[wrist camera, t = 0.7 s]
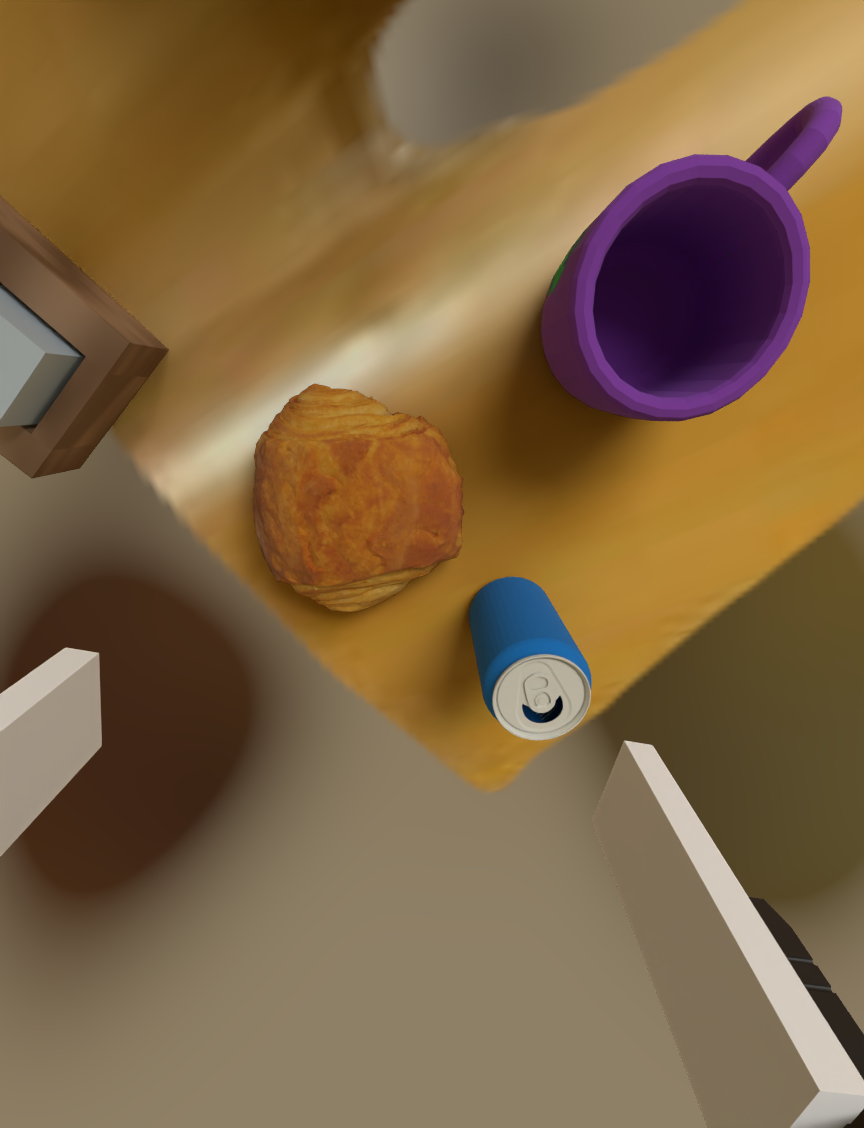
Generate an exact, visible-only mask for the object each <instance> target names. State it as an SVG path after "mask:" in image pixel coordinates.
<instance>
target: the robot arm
mask: <svg viewBox="0 0 864 1128" xmlns="http://www.w3.org/2000/svg"><path fill="white" fill-rule="evenodd" d="M101 738H102V736H101V703H100V671H99V653H95V652H89V651H84V650H77V649H72V648H64V649H63V650H61V651H60V652H59V653H57V654H56V655H54V656H53V657H52V658H50V659H49V660H47V661H46V662H45V663H43V664H42V665H40V666H39V667H37V668H36V669H35V670H33V671H32V672H30V673H29V674H28V675H26V676H25V677H23V678H22V679H21V680H19V681H18V682H16V683H15V684H14V685H12V686H11V687H10V688H8V689H7V690H5V691H4V692H2V693H1V694H0V856H1V855H2V854H3V853H4V852H5V851H6V850H7V849H8V848H9V846H11V844H12V843H13V842H14V841H15V840H16V839H17V838H18V837H19V836H20V834H21V833H22V832H23V831H24V830H25V829H26V828H27V827H28V826H29V825H30V824H31V823H32V822H33V820H34V819H35V818H36V817H37V816H38V815H39V814H40V813H41V812H42V811H43V810H44V808H45V807H46V806H47V805H48V804H49V803H50V802H51V801H52V800H53V799H54V798H55V796H56V795H57V794H58V793H59V792H60V791H61V790H62V789H63V788H64V787H65V786H66V784H67V783H68V782H69V781H70V780H71V779H72V778H73V777H74V776H75V775H76V773H77V772H78V771H79V770H80V769H81V768H82V767H83V766H84V765H85V764H86V763H87V761H88V760H89V759H90V758H91V757H92V756H93V755H94V754H95V752H97V751H98V750H99V748H100V747H101V746H102V739H101ZM592 824H593V826H594V829H595V832H596V834H597V837H598V840H599V842H600V844H601V847H602V850H603V853H604V855H605V858H606V861H607V863H608V866H609V868H610V871H611V874H612V876H613V879H614V882H615V884H616V887H617V890H618V892H619V895H620V897H621V900H622V903H623V906H624V908H625V911H626V913H627V916H628V919H629V921H630V924H631V927H632V929H633V932H634V934H635V937H636V940H637V943H638V945H639V948H640V950H641V953H642V956H643V958H644V961H645V964H646V966H647V969H648V972H649V974H650V977H651V980H652V982H653V985H654V988H655V990H656V993H657V995H658V998H659V1001H660V1003H661V1006H662V1008H663V1011H664V1014H665V1017H666V1019H667V1022H668V1024H669V1027H670V1030H671V1032H672V1035H673V1038H674V1040H675V1043H676V1046H677V1048H678V1051H679V1054H680V1056H681V1059H682V1061H683V1064H684V1067H685V1069H686V1072H687V1075H688V1077H689V1080H690V1083H691V1085H692V1088H693V1090H694V1093H695V1096H696V1098H697V1101H698V1104H699V1106H700V1109H701V1111H702V1114H703V1117H704V1120H705V1122H706V1125H707V1127H708V1128H864V1035H863V1033H862V1031H861V1030H860V1028H859V1027H858V1025H857V1024H856V1023H855V1021H854V1020H853V1018H852V1017H851V1015H850V1014H849V1012H848V1011H847V1009H846V1008H845V1006H844V1005H843V1003H842V1002H841V1000H840V999H839V997H838V996H837V994H836V993H833V992H832V991H831V986H830V984H829V983H828V981H827V980H826V978H825V977H824V975H823V974H822V972H821V971H820V969H819V968H818V966H816V965H814V964H813V961H812V960H813V959H812V957H811V956H810V954H809V953H808V951H807V950H806V949H805V947H804V946H803V944H802V943H801V941H800V940H799V938H798V937H797V935H796V934H795V932H794V931H793V929H792V928H791V927H790V926H789V925H788V924H787V923H786V922H785V920H783V918H782V917H781V916H780V915H779V914H778V913H777V912H776V911H775V910H774V909H773V908H772V907H771V906H770V905H769V904H768V903H767V902H766V901H765V900H764V899H758V898H752V897H748V896H747V894H746V893H745V891H744V890H743V888H742V886H741V885H740V883H739V882H738V880H737V879H736V877H735V875H734V874H733V872H732V871H731V869H730V867H729V866H728V864H727V863H726V861H725V860H724V858H723V856H722V855H721V853H720V852H719V850H718V849H717V847H716V845H715V844H714V842H713V841H712V839H711V837H710V836H709V834H708V833H707V831H706V830H705V828H704V826H703V825H702V823H701V822H700V820H699V818H698V817H697V815H696V814H695V812H694V810H693V809H692V807H691V806H690V804H689V803H688V801H687V799H686V798H685V796H684V795H683V793H682V791H681V790H680V788H679V787H678V785H677V783H676V782H675V780H674V779H673V777H672V776H671V774H670V772H669V771H668V769H667V768H666V766H665V764H664V763H663V762H662V760H661V758H660V756H659V755H658V753H657V752H656V750H655V749H654V747H653V745H648V744H642V743H635V742H630V741H624V743H623V745H622V747H621V750H620V752H619V755H618V757H617V760H616V762H615V764H614V767H613V769H612V772H611V774H610V777H609V779H608V782H607V784H606V786H605V789H604V792H603V794H602V796H601V799H600V801H599V803H598V806H597V809H596V811H595V813H594V816H593V818H592Z"/></svg>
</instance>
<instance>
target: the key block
mask: <svg viewBox="0 0 864 1128" xmlns="http://www.w3.org/2000/svg"><path fill="white" fill-rule="evenodd" d="M0 285H2V286H5V287H6V288H8V289H9V290H10V291H11V292H12V293H13V294H14V295H16V296H17V297H18V298H19V299H20V300H21V301H23V302H24V303H25V304H26V305H27V306H28V307H29V308H31V309H32V310H33V311H34V312H35V313H36V314H38V315H39V316H40V317H41V318H42V319H43V320H44V321H46V322H47V323H48V324H49V325H50V326H51V327H53V328H54V329H55V330H56V331H57V332H58V333H59V334H61V335H62V336H63V337H64V338H65V339H66V340H68V341H69V342H70V343H71V344H72V345H73V346H74V347H76V348H77V349H78V350H79V351H80V352H81V353H83V354H84V355H85V356H86V357H85V358H84V360H83V361H82V363H81V364H80V365H79V367H78V368H77V370H76V371H75V373H74V374H73V375H72V377H71V378H70V380H69V381H68V383H67V384H66V385H65V387H64V388H63V390H62V391H61V393H60V394H59V395H58V397H57V398H56V400H55V401H54V403H53V404H52V405H51V407H50V408H49V410H48V411H47V413H46V414H45V415H44V417H43V418H42V420H41V421H40V422H39V424H32V425H19V426H5V427H0V454H1V455H2V456H4V457H5V458H6V459H7V460H9V461H10V462H11V463H12V464H14V465H15V466H16V467H18V468H19V469H20V470H22V471H23V472H24V473H25V474H27V475H28V476H29V477H30V478H36V477H40V476H45V475H50V474H55V473H60V472H65V471H69V470H74V469H79V468H80V467H81V466H82V465H83V463H84V462H85V461H86V459H87V458H88V457H89V455H90V454H91V453H92V451H93V450H94V449H95V447H96V446H97V445H98V443H99V442H100V441H101V439H102V438H103V437H104V435H105V434H106V433H107V431H108V430H109V429H110V427H111V426H112V425H113V423H114V422H115V421H116V419H117V418H118V417H119V415H120V414H121V413H122V411H123V410H124V409H125V407H126V406H127V405H128V403H129V402H130V401H131V399H132V398H133V397H134V395H135V394H136V393H137V391H138V390H139V389H140V387H141V386H142V385H143V383H144V382H145V381H146V379H147V378H148V377H149V375H150V374H151V373H152V371H153V370H154V369H155V367H156V366H157V365H158V363H159V362H160V361H161V359H162V358H163V357H164V355H165V354H166V353H167V351H168V349H167V348H166V347H165V346H164V345H163V344H162V343H161V342H160V341H158V340H157V339H156V338H155V337H154V336H153V335H152V334H151V333H150V332H149V331H148V330H146V329H145V328H144V327H143V326H142V325H141V324H140V323H139V322H138V321H137V320H135V319H134V318H133V317H132V316H131V315H130V314H129V313H128V312H127V311H126V310H125V309H123V308H122V307H121V306H120V305H119V304H118V303H117V302H116V301H115V300H114V299H112V298H111V297H110V296H109V295H108V294H107V293H106V292H105V291H104V290H103V289H101V288H100V287H99V286H98V285H97V284H96V283H95V282H94V281H93V280H92V279H91V278H89V277H88V276H87V275H86V274H85V273H84V272H83V271H82V270H81V269H80V268H78V267H77V266H76V265H75V264H74V263H73V262H72V261H71V260H70V259H69V258H68V257H66V256H65V255H64V254H63V253H62V252H61V251H60V250H59V249H58V248H57V247H55V246H54V245H53V244H52V243H51V242H50V241H49V240H48V239H47V238H46V237H44V236H43V235H42V234H41V233H40V232H39V231H38V230H37V229H36V228H35V227H34V226H32V225H31V224H30V223H29V222H28V221H27V220H26V219H25V218H24V217H23V216H21V215H20V214H19V213H18V212H17V211H16V210H15V209H14V208H13V207H12V206H11V205H9V204H8V203H7V202H6V201H5V200H4V199H3V198H2V197H1V196H0Z"/></svg>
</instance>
